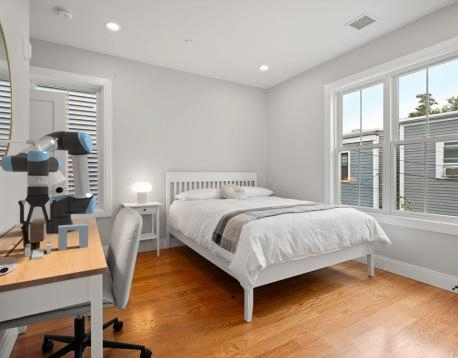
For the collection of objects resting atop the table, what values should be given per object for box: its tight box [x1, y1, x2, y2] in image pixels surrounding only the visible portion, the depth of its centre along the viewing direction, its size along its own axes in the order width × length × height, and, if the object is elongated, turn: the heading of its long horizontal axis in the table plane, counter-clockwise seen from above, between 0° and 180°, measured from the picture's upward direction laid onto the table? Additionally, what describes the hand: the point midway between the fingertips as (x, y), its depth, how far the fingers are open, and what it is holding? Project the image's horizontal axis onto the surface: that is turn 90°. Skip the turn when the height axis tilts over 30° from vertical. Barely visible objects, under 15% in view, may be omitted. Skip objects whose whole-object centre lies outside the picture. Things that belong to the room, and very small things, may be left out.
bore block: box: [57, 223, 89, 252], centre depth 129 cm, size 5×13×11 cm, turn 124°
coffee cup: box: [20, 221, 41, 252], centre depth 125 cm, size 9×8×13 cm
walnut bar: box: [30, 217, 46, 243], centre depth 115 cm, size 14×4×8 cm, turn 32°
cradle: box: [24, 241, 52, 261], centre depth 117 cm, size 13×10×4 cm
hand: (37, 238), depth 112 cm, fingers closed on walnut bar, 5 cm apart
